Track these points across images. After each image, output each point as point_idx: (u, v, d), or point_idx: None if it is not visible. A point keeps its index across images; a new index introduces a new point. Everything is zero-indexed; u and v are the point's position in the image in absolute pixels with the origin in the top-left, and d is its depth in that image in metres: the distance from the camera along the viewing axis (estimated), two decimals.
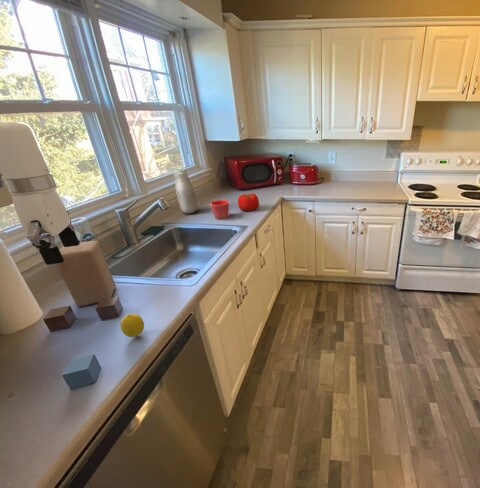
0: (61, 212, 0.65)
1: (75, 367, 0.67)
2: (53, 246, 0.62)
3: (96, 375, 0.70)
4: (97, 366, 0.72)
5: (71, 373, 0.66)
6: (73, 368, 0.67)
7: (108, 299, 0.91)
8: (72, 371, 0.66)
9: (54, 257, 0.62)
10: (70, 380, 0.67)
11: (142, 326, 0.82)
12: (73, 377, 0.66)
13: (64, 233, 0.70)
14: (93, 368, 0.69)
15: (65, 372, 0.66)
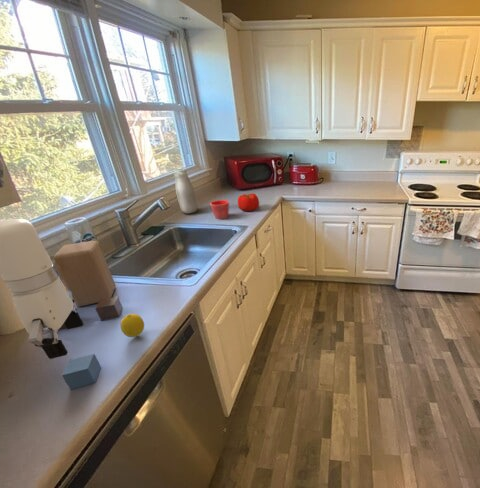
0: (64, 300, 0.62)
1: (75, 367, 0.67)
2: (56, 341, 0.59)
3: (96, 375, 0.70)
4: (97, 366, 0.72)
5: (71, 373, 0.66)
6: (73, 368, 0.67)
7: (108, 299, 0.91)
8: (72, 371, 0.66)
9: (57, 352, 0.60)
10: (70, 380, 0.67)
11: (142, 326, 0.82)
12: (73, 377, 0.66)
13: (67, 316, 0.67)
14: (93, 368, 0.69)
15: (65, 372, 0.66)
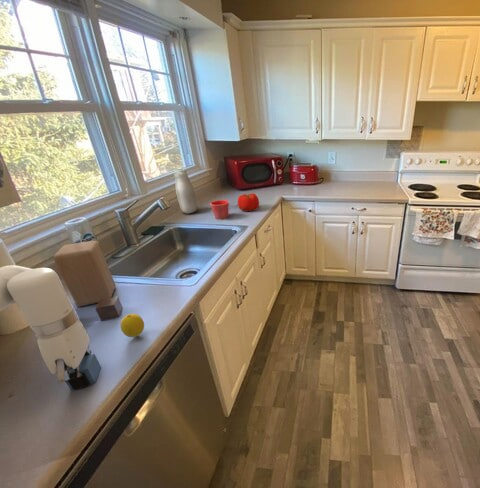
0: (82, 338, 0.67)
1: None
2: (80, 374, 0.66)
3: (96, 375, 0.70)
4: (97, 366, 0.72)
5: None
6: None
7: (108, 299, 0.91)
8: (72, 371, 0.66)
9: (81, 383, 0.67)
10: None
11: (142, 326, 0.82)
12: None
13: None
14: (93, 368, 0.69)
15: None
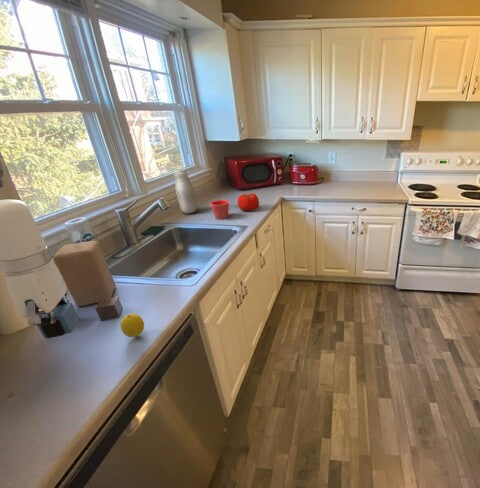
0: (57, 283, 0.63)
1: None
2: (54, 321, 0.61)
3: (73, 325, 0.66)
4: (75, 317, 0.67)
5: None
6: (47, 315, 0.62)
7: (108, 299, 0.91)
8: (46, 317, 0.62)
9: (55, 331, 0.62)
10: None
11: (142, 326, 0.82)
12: None
13: None
14: (70, 317, 0.65)
15: None
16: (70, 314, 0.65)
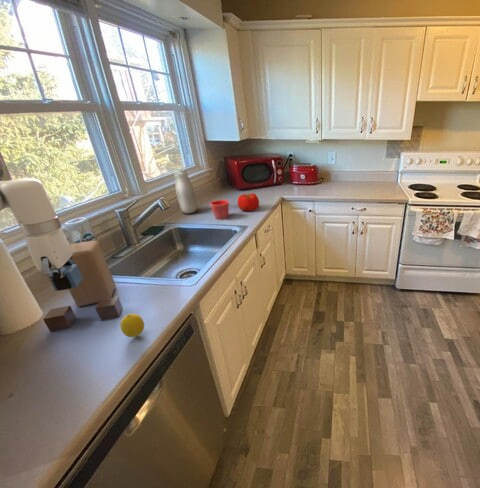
0: (65, 247, 0.79)
1: None
2: (63, 276, 0.78)
3: (78, 282, 0.82)
4: (79, 276, 0.83)
5: None
6: (58, 272, 0.79)
7: (108, 299, 0.91)
8: None
9: (64, 284, 0.78)
10: None
11: (142, 326, 0.82)
12: None
13: None
14: (75, 275, 0.81)
15: None
16: (75, 272, 0.82)
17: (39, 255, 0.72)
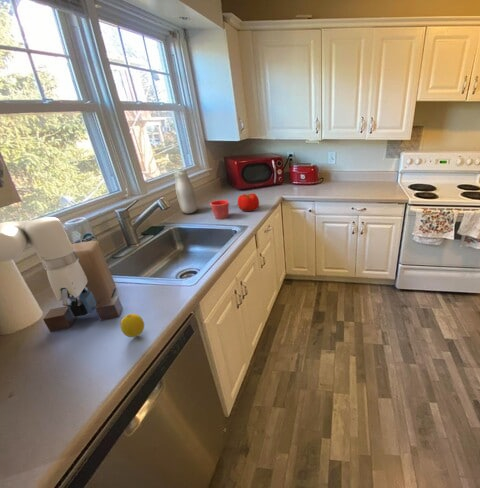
0: (81, 276, 0.85)
1: None
2: (80, 304, 0.84)
3: (93, 308, 0.89)
4: (94, 302, 0.90)
5: None
6: (74, 300, 0.85)
7: (108, 299, 0.91)
8: None
9: (80, 311, 0.85)
10: None
11: (142, 326, 0.82)
12: None
13: None
14: (90, 302, 0.88)
15: None
16: (90, 299, 0.88)
17: (59, 287, 0.79)
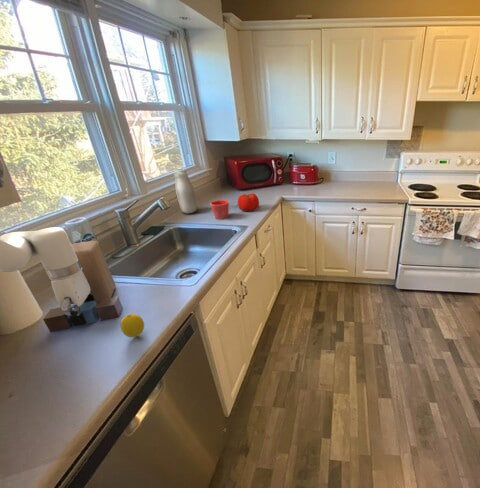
0: (84, 285, 0.87)
1: (80, 308, 0.87)
2: (79, 313, 0.83)
3: (97, 317, 0.90)
4: None
5: None
6: None
7: (108, 299, 0.91)
8: None
9: (80, 321, 0.84)
10: None
11: (142, 326, 0.82)
12: None
13: (85, 298, 0.92)
14: (94, 311, 0.89)
15: None
16: None
17: (63, 296, 0.80)
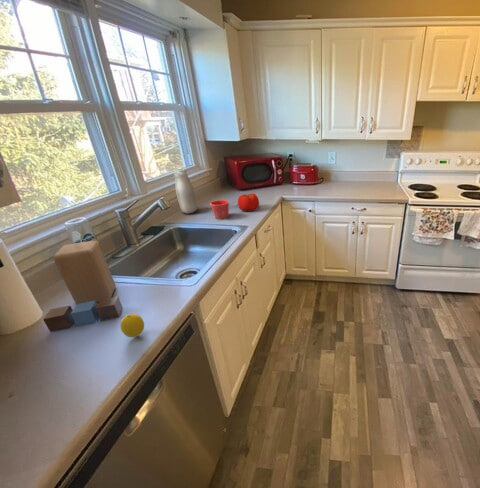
0: None
1: (80, 308, 0.87)
2: None
3: (97, 317, 0.90)
4: None
5: (78, 312, 0.86)
6: (79, 309, 0.87)
7: (108, 299, 0.91)
8: (78, 311, 0.86)
9: None
10: (77, 318, 0.86)
11: (142, 326, 0.82)
12: (79, 316, 0.86)
13: None
14: (94, 311, 0.89)
15: (73, 311, 0.86)
16: None
17: None
